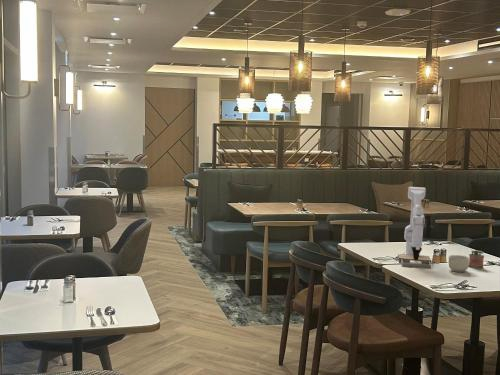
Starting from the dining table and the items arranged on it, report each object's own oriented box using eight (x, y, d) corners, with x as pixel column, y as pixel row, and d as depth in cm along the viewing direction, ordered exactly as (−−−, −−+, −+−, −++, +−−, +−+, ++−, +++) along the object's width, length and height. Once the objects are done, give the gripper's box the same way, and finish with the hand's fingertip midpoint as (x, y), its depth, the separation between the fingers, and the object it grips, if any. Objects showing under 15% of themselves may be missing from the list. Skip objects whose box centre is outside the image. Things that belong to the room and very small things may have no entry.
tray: (400, 262, 352) (401, 259, 351) (429, 264, 349) (429, 261, 348) (401, 266, 342) (402, 262, 342) (431, 268, 339) (431, 264, 339)
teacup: (470, 273, 330) (472, 259, 329) (451, 272, 330) (452, 258, 329) (462, 267, 344) (463, 254, 343) (443, 267, 344) (444, 253, 343)
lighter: (467, 267, 346) (469, 250, 345) (468, 266, 349) (470, 249, 348) (482, 269, 342) (484, 251, 341) (483, 268, 345) (484, 250, 344)
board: (397, 257, 364) (398, 253, 364) (428, 260, 361) (428, 256, 361) (399, 262, 352) (399, 258, 352) (430, 264, 349) (431, 260, 348)
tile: (410, 262, 342) (410, 265, 342) (421, 263, 341) (421, 266, 341) (410, 260, 347) (409, 263, 347) (420, 261, 346) (420, 264, 346)
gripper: (409, 233, 353) (407, 256, 354) (411, 238, 339) (409, 261, 340) (421, 234, 352) (420, 257, 353) (424, 239, 337) (422, 262, 339)
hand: (415, 259), depth 346 cm, fingers closed
